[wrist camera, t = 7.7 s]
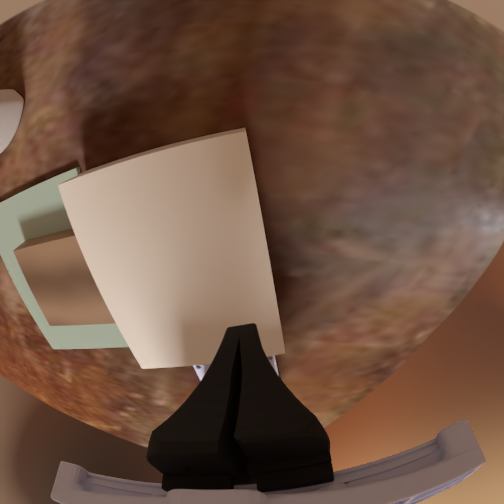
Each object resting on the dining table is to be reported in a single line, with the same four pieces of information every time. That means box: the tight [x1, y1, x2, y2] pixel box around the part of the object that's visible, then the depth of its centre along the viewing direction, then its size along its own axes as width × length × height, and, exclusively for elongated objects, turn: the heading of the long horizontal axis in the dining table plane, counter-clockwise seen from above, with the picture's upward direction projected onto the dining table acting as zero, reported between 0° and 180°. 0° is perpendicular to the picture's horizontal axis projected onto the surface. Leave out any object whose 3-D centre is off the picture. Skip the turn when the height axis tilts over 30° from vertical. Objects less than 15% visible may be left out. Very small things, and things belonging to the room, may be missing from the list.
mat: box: [0, 167, 129, 349], centre depth 22 cm, size 17×13×1 cm
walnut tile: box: [13, 228, 115, 326], centre depth 21 cm, size 8×8×2 cm
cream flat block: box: [58, 128, 285, 369], centre depth 20 cm, size 16×12×4 cm
